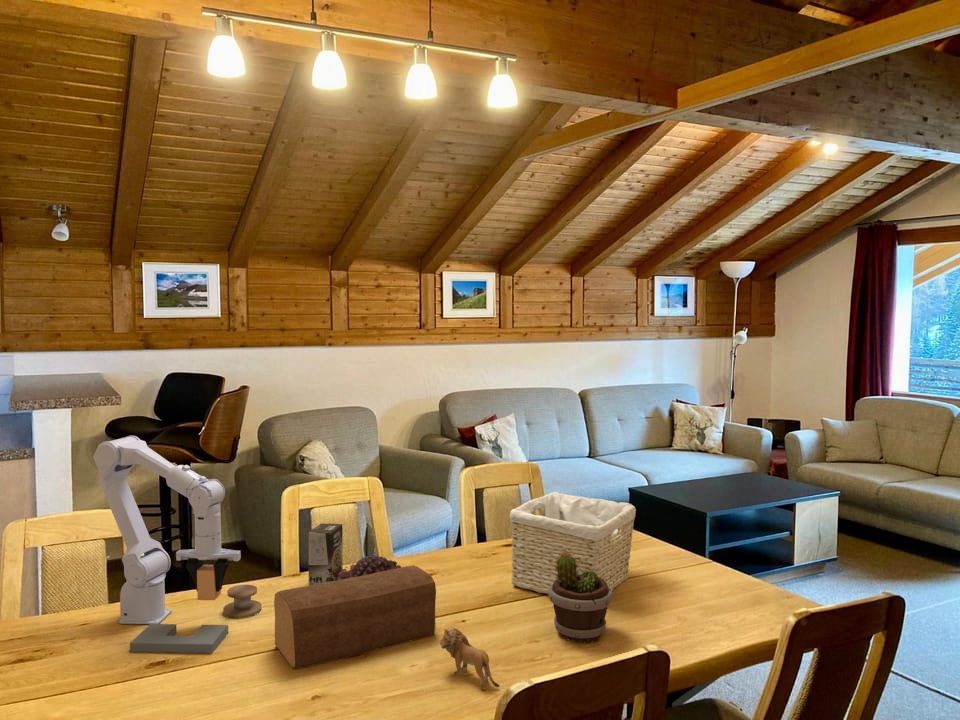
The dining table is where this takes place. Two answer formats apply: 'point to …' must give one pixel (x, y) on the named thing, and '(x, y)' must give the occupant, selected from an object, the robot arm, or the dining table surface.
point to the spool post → (242, 602)
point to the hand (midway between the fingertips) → (209, 589)
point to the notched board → (178, 639)
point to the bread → (354, 615)
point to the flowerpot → (579, 601)
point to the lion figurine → (466, 655)
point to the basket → (570, 539)
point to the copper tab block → (206, 583)
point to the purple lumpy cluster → (368, 567)
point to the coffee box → (325, 553)
